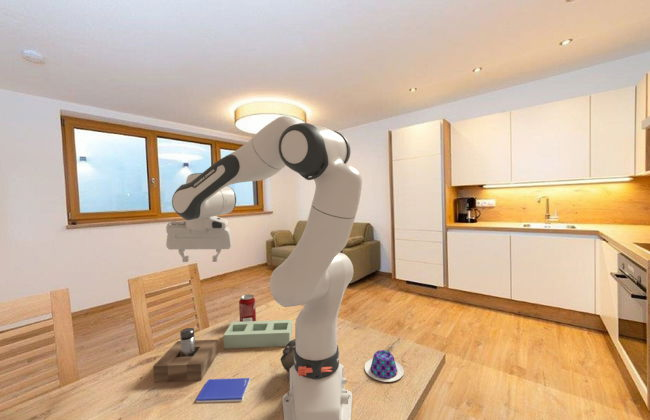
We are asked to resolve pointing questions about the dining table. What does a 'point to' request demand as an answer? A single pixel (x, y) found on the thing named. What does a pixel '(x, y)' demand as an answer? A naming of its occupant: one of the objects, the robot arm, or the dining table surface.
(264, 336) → the tool rack
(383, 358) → the pudding
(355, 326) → the dining table surface
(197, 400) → the blue book
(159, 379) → the socket block
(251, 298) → the soda can
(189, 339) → the salt shaker
